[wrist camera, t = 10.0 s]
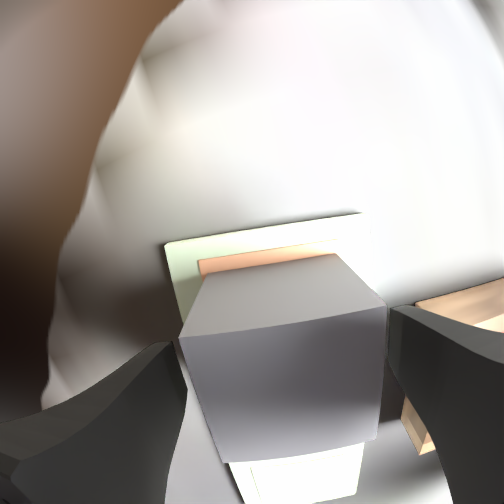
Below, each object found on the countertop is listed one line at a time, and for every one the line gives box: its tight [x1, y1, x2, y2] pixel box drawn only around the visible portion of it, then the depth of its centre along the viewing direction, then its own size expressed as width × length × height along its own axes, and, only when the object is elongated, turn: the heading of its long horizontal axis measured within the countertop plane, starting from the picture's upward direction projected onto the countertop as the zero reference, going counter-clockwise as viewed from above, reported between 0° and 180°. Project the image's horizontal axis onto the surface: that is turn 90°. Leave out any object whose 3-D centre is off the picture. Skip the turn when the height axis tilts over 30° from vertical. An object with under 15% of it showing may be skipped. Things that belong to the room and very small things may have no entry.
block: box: [178, 253, 387, 463], centre depth 10 cm, size 5×5×5 cm
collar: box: [401, 278, 504, 455], centre depth 12 cm, size 8×8×3 cm
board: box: [164, 213, 372, 504], centre depth 14 cm, size 8×20×1 cm, turn 9°
